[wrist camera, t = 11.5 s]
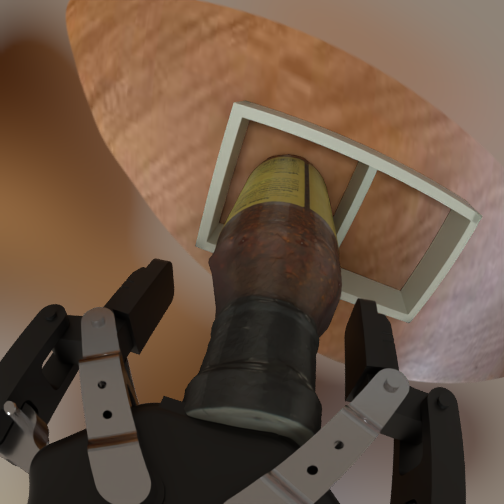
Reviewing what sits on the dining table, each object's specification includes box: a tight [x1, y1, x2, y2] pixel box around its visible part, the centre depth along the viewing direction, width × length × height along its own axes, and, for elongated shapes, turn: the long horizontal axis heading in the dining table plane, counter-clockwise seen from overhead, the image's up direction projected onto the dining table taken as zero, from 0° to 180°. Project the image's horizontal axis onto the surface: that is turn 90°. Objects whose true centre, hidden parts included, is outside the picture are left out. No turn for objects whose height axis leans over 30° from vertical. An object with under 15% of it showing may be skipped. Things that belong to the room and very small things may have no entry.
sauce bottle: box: [182, 154, 342, 446], centre depth 15 cm, size 6×6×20 cm
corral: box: [196, 101, 482, 323], centre depth 22 cm, size 20×12×4 cm, turn 73°
